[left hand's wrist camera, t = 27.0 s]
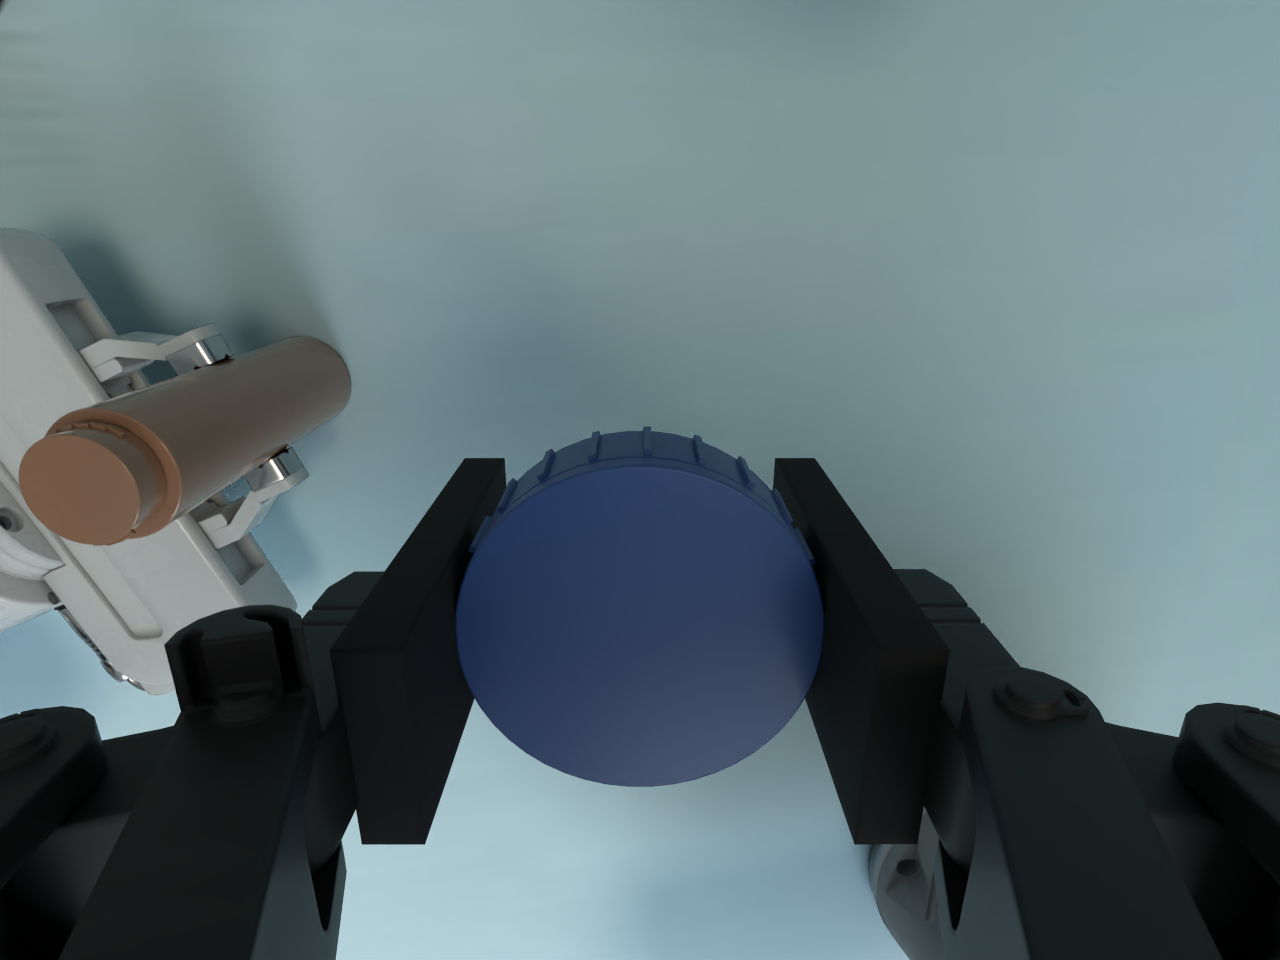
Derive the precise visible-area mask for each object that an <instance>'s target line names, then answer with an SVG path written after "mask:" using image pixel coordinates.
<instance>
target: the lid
mask: <svg viewBox="0 0 1280 960" xmlns="http://www.w3.org/2000/svg"><path fill="white" fill-rule="evenodd" d="M791 522H793V520H792V518H791V516H790V514H789V512H788V510H787V508H786V506H785V504H784V501H783V499H782V497H781V495H780V493H779V492H778V491H777V489H776V488H775V489H773V490H772V491H771V490H770V489H769V488H768V486H767V485H766V484H765V483H764V482H763V481H762V480H761V479H760V478H759V477H758V476H757V475H756V474H755V473H754V472H753V471H751V470H750V469H749V468H748V466H747V463H746V461H745V459H743V458H742V457H741V456H739V457H738V459H735V458H733V457H732V456H730V455H728V454H726V453H724V452H723V451H721V450H719V449H717V448H715V447H713V446H710V445H708V444H705V443H703V442H702V439H701V437H700V436H697V435H694V437H693V439H691V438H687V437H683V436H679V435H676V434H669V433H662V432H654V431H651V427H643V431H626V432H618V433H610V434H604V435H600V432H599V431H597V432H593V433H592V438H588V439H585V440H582V441H579V442H577V443H574V444H572V445H569V446H567V447H564V448H562V449H560V450H559V451H557V452H555V453H554V451H553V449H550V450H549V451H547V452H546V454H545V456H544V459H543V460H542V461H540V462H539V463H538V464H536V465H535V466H534V467H532V468H531V469H530V470H528V471H527V472H526V473H525V474H524V475H523V476H522V477H521V478H520V479H519V480H518V481H516V480H515V479H514V478H512V480H511V481H510V482H509V483H508V485H507V487H506V489H505V491H504V494H503V496H502V498H501V500H500V502H499V504H498V506H497V508H496V510H495V512H494V513H493V515H492V517H489V516H486V517H485V519H484V521H483V523H482V525H481V527H480V529H479V531H478V533H477V535H476V537H475V539H474V541H473V542H472V544H471V546H470V549H469V552H471V553H473V556H472V558H471V560H470V562H469V564H468V566H467V569H466V571H465V574H464V577H463V580H462V582H461V585H460V589H459V594H458V598H457V603H456V610H455V628H456V638H457V648H458V657H459V661H460V665H461V669H462V672H463V674H464V677H465V679H466V681H467V684H468V686H469V689H470V691H471V692H472V694H473V696H474V698H475V699H476V701H477V703H478V704H479V706H480V708H481V709H482V710H483V712H484V713H485V714H486V716H487V717H488V718H489V719H490V721H491V722H492V723H493V724H494V726H495V727H497V728H498V729H499V730H500V731H501V732H502V733H503V734H504V735H505V736H506V737H507V738H508V739H509V740H510V741H511V742H513V743H514V744H515V745H516V746H518V747H519V748H520V749H522V750H523V751H524V752H526V753H527V754H529V755H530V756H532V757H534V758H535V759H537V760H539V761H540V762H542V763H544V764H546V765H548V766H550V767H552V768H555V769H557V770H559V771H561V772H564V773H566V774H569V775H572V776H575V777H579V778H582V779H585V780H589V781H594V782H598V783H603V784H609V785H619V786H628V787H651V786H661V785H670V784H676V783H681V782H686V781H690V780H695V779H698V778H701V777H704V776H707V775H710V774H713V773H716V772H718V771H720V770H723V769H725V768H727V767H729V766H731V765H734V764H736V763H737V762H739V761H741V760H742V759H744V758H746V757H747V756H749V755H751V754H752V753H754V752H755V751H757V750H758V749H759V748H760V747H762V746H763V745H764V744H766V743H767V742H768V741H769V740H771V739H772V738H773V737H774V736H775V735H776V734H777V733H778V732H779V731H780V730H781V729H782V728H783V727H784V726H785V725H786V724H787V723H788V721H789V720H790V719H791V717H792V716H793V715H794V714H795V712H796V711H797V710H798V708H799V707H800V705H801V703H802V702H803V700H804V698H805V697H806V695H807V693H808V691H809V690H810V687H811V685H812V682H813V680H814V678H815V675H816V673H817V670H818V667H819V663H820V658H821V653H822V643H823V633H824V606H823V601H822V596H821V591H820V587H819V584H818V581H817V578H816V576H815V573H814V570H813V568H812V566H813V565H816V562H815V559H814V557H813V555H812V553H811V551H810V549H809V547H808V545H807V543H806V541H805V539H804V537H803V535H802V533H801V531H800V529H799V527H797V528H795V529H794V528H793V526H792V524H791Z"/></svg>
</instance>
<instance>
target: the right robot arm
mask: <svg viewBox="0 0 1280 960" xmlns="http://www.w3.org/2000/svg"><path fill="white" fill-rule="evenodd" d="M232 356H234V353H233V352H232V350H231V348H230V347H229V345H228V343H227V342H226V340H225V338H224V337H223V335H222V334H221V332H220V330H219V329H218V327H217V325H216V324H215V323H213V324H209V325H205V326H201V327H198V328H196V329H193V330H190V331H188V332H185V333H183V334H181V335H179V336H174V335H166V334H157V333H149V332H141V331H135V332H131V333H127V334H122V335H117V333H116V332H115V330H114V329H113V327H112V326H111V324H110V323H109V321H108V320H107V319H106V317H105V316H104V314H103V313H102V311H101V310H100V308H99V307H98V305H97V304H96V302H95V301H94V299H93V298H92V296H91V295H90V293H89V292H88V290H87V289H86V287H85V286H84V284H83V283H82V281H81V280H80V278H79V277H78V275H77V274H76V272H75V271H74V269H73V268H72V266H71V265H70V263H69V262H68V260H67V259H66V257H65V256H64V254H63V253H62V251H61V250H60V248H59V247H58V246H57V244H56V243H55V242H54V241H53V240H52V239H50V238H48V237H46V236H43V235H40V234H37V233H33V232H29V231H25V230H20V229H14V228H0V633H1V632H3V631H5V630H7V629H10V628H12V627H14V626H17V625H19V624H21V623H23V622H26V621H28V620H30V619H32V618H35V617H37V616H39V615H41V614H44V613H46V612H48V611H50V610H52V609H55V610H57V609H58V611H59V613H61V615H62V616H63V618H64V619H65V620H66V621H67V623H68V624H69V625H70V626H71V628H72V629H73V630H74V631H75V633H76V634H77V635H78V636H79V637H80V638H81V639H82V640H84V642H85V643H86V644H89V645H88V646H89V647H90V648H91V649H92V650H93V651H94V652H95V653H96V655H97V656H98V657H99V658H100V660H101V664H102V666H103V668H104V669H105V670H106V671H107V673H108V674H109V675H110V676H112V677H113V678H114V679H115V680H117V681H118V682H123V681H125V680H127V681H128V682H129V683H130V684H131V685H133V686H135V687H136V688H138V689H140V690H143V691H146V692H147V693H148V694H150V695H162V694H166V693H168V692H171V691H173V690H175V686H174V682H173V678H172V674H171V670H170V666H169V662H168V659H167V655H166V651H165V647H164V644H165V643H166V642H167V641H168V640H169V639H170V638H171V637H172V636H173V635H174V634H175V633H176V632H177V631H179V630H181V629H182V628H184V627H186V626H187V625H189V624H191V623H193V622H194V621H196V620H198V619H201V618H203V617H206V616H209V615H212V614H214V613H217V612H220V611H223V610H228V609H233V608H238V607H243V606H248V605H277V606H282V607H287V608H291V609H292V610H293V611H296V609H297V603H296V600H295V598H294V597H293V595H292V594H291V592H290V591H289V589H288V588H287V586H286V585H285V583H284V582H283V580H282V579H281V577H280V576H279V574H278V573H277V571H276V570H275V568H274V567H273V565H272V564H271V563H270V561H269V560H268V558H267V557H266V555H265V554H264V552H263V551H262V549H261V548H260V546H259V545H258V543H257V542H256V540H255V539H254V537H253V536H252V534H251V533H250V531H251V530H252V529H253V528H254V527H256V526H257V525H258V524H259V523H261V522H262V521H263V520H264V518H265V516H266V515H267V513H268V511H269V510H270V508H271V506H272V504H273V503H274V501H275V499H276V498H277V496H278V494H280V493H282V492H284V491H286V490H289V489H290V488H292V487H294V486H296V485H297V484H299V483H300V482H302V481H303V480H304V479H306V478H307V477H308V476H309V473H308V472H307V470H306V468H305V467H304V465H303V464H302V462H301V460H300V459H299V457H298V456H297V454H296V453H295V451H294V449H293V448H292V447H289V448H287V449H285V450H283V451H282V452H280V453H279V454H277V455H276V456H274V457H273V458H271V459H270V460H268V461H267V462H265V463H264V464H262V465H261V466H259V467H257V468H256V469H254V470H253V471H251V472H250V473H248V474H247V475H245V476H244V477H245V479H246V480H247V482H248V484H249V485H250V487H251V490H250V492H249V494H248V495H247V497H244V496H243V497H241V498H239V499H237V500H234V501H232V502H229V500H228V499H227V497H226V496H225V494H224V493H223V491H220V492H219V493H217V494H216V495H214V496H213V497H211V498H210V499H208V500H207V501H205V502H204V503H202V504H200V505H199V506H197V507H196V508H194V509H193V510H191V511H190V512H188V513H187V514H185V515H184V516H182V517H180V518H179V519H177V520H176V521H174V522H173V523H171V524H170V525H168V526H167V527H165V528H164V529H162V530H160V531H158V532H157V533H155V534H152V535H150V536H147V537H142V538H135V539H126V540H124V541H123V542H119V543H116V544H113V545H110V546H108V545H100V546H93V545H88V544H81V543H77V542H73V541H70V540H68V539H65V538H63V537H61V536H59V535H57V534H56V533H54V532H52V531H51V530H49V529H48V528H47V527H46V526H44V525H43V524H42V523H41V522H40V521H39V520H38V519H37V518H36V517H35V516H34V515H33V513H32V512H31V510H30V509H29V508H28V506H27V504H26V502H25V501H24V498H23V496H22V493H21V490H20V486H19V467H20V463H21V460H22V458H23V456H24V454H25V453H26V451H27V450H28V449H29V448H30V447H31V446H32V445H33V444H34V443H35V442H37V441H39V440H40V439H42V438H44V436H45V435H46V433H47V431H48V430H49V428H50V427H51V426H52V425H53V423H55V422H56V421H57V420H58V419H59V418H61V417H62V416H64V415H65V414H67V413H70V412H72V411H75V410H78V409H80V408H83V407H86V406H89V405H92V404H95V403H98V402H101V401H104V400H107V399H110V398H113V397H116V396H119V395H122V394H125V393H128V392H131V391H133V390H136V389H139V388H142V387H145V386H148V385H151V384H150V383H149V381H148V380H147V378H146V377H145V375H144V374H143V372H142V371H141V368H143V367H145V366H147V365H149V364H151V363H153V362H154V360H161V361H168V362H169V364H170V365H171V367H172V368H173V369H174V371H175V372H176V374H177V375H181V374H184V373H186V372H189V371H192V370H195V369H198V368H201V367H205V366H208V365H211V364H214V363H216V362H219V361H223V360H225V359H228V358H230V357H232Z"/></svg>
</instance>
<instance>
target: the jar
mask: <svg viewBox="0 0 1280 960" xmlns="http://www.w3.org/2000/svg"><path fill="white" fill-rule="evenodd" d="M350 392H351V380H350V375H349V372H348V369H347V367H346V365H345V363H344V362H343V360H342V359H341V357H340V356H339V355H338V354H337V353H336V352H335V351H334V350H333V349H332V348H331V347H329V346H328V345H327V344H325V343H323V342H321V341H319V340H316V339H313V338H310V337H301V336H297V337H290V338H287V339H284V340H281V341H278V342H275V343H272V344H269V345H266V346H263V347H260V348H257V349H254V350H251V351H248V352H245V353H242V354H239V355H237V356H234V357H231V358H228V359H225V360H223V361H219V362H216V363H214V364H211V365H208V366H205V367H201V368H198V369H195V370H192V371H189V372H186V373H184V374H181V375H178V376H175V377H172V378H169V379H166V380H163V381H160V382H157V383H154V384H151V385H148V386H145V387H142V388H139V389H136V390H133V391H131V392H128V393H125V394H122V395H119V396H116V397H113V398H110V399H107V400H104V401H101V402H98V403H95V404H92V405H89V406H86V407H83V408H80V409H78V410H75V411H72V412H70V413H67V414H65V415H64V416H62V417H61V418H59V419H58V420H57V421H56V422H55V423H53V425H52V426H51V427H50V428H49V430H48V431H47V433H46V435H45V436H44V438H42V439H40V440H39V441H37V442H35V443H34V444H33V445H32V446H31V447H30V448H29V449H28V450H27V451H26V453H25V454H24V456H23V458H22V460H21V463H20V467H19V486H20V490H21V493H22V496H23V498H24V501H25V502H26V504H27V506H28V508H29V509H30V510H31V512H32V513H33V515H34V516H35V517H36V518H37V519H38V520H39V521H40V522H41V523H42V524H43V525H44V526H46V527H47V528H48V529H49V530H51V531H52V532H54V533H56V534H57V535H59V536H61V537H63V538H65V539H68V540H70V541H73V542H77V543H81V544H88V545H93V546H100V545H108V546H110V545H113V544H116V543H119V542H123V541H124V540H126V539H135V538H142V537H147V536H150V535H152V534H155V533H157V532H158V531H160V530H162V529H164V528H165V527H167V526H168V525H170V524H171V523H173V522H174V521H176V520H177V519H179V518H180V517H182V516H184V515H185V514H187V513H188V512H190V511H191V510H193V509H194V508H196V507H197V506H199V505H200V504H202V503H204V502H205V501H207V500H208V499H210V498H211V497H213V496H214V495H216V494H217V493H219V492H220V491H222V490H224V489H225V488H227V487H228V486H230V485H231V484H233V483H234V482H236V481H237V480H239V479H240V478H242V477H244V476H245V475H247V474H248V473H250V472H251V471H253V470H254V469H256V468H257V467H259V466H261V465H262V464H264V463H265V462H267V461H268V460H270V459H271V458H273V457H274V456H276V455H277V454H279V453H280V452H282V451H283V450H285V449H287V448H288V447H290V446H291V445H293V444H294V443H296V442H297V441H299V440H301V439H302V438H304V437H305V436H307V435H308V434H310V433H311V432H313V431H314V430H316V429H317V428H319V427H321V426H322V425H324V424H325V423H327V422H328V421H330V420H331V419H333V418H334V417H336V416H337V415H338V414H340V412H341V411H342V410H343V409H344V408H345V406H346V404H347V402H348V400H349V397H350Z"/></svg>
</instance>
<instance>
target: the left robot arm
mask: <svg viewBox="0 0 1280 960" xmlns="http://www.w3.org/2000/svg"><path fill="white" fill-rule="evenodd" d="M775 488H776V489H777V491H778V492H779V493H780V495H781V497H782V499H783V501H784V504H785V506H786V508H787V510H788V512H789V514H790V516H791V518H792V520H793V522H791V524H792V526H793V528H794V529H795V528H797V527H799V529H800V531H801V533H802V535H803V537H804V539H805V541H806V543H807V545H808V547H809V549H810V551H811V553H812V555H813V557H814V559H815V562H816V565H813V566H812V568H813V570H814V573H815V576H816V578H817V581H818V584H819V587H820V591H821V596H822V601H823V606H824V633H823V643H822V653H821V658H820V663H819V667H818V670H817V673H816V675H815V678H814V680H813V682H812V685H811V687H810V690H809V691H808V693H807V695H806V697H805V699H806V702H807V705H808V708H809V711H810V714H811V717H812V720H813V723H814V726H815V729H816V732H817V735H818V738H819V741H820V744H821V747H822V749H823V752H824V755H825V758H826V761H827V764H828V767H829V770H830V773H831V776H832V779H833V782H834V785H835V788H836V791H837V794H838V797H839V800H840V803H841V806H842V808H843V811H844V814H845V817H846V820H847V823H848V826H849V829H850V832H851V835H852V838H853V841H854V844H874V846H873V848H872V852H871V856H870V862H869V879H870V885H871V889H872V892H873V895H874V898H875V901H876V904H877V907H878V910H879V913H880V915H881V917H882V920H883V922H884V924H885V925H886V927H887V929H888V930H889V931H890V933H891V935H892V936H893V938H894V939H895V941H896V942H897V943H898V944H899V946H900V947H901V948H902V950H903V951H904V952H905V954H906V955H907V956H908V958H909V959H910V960H1280V715H1278V714H1275V713H1272V712H1269V711H1266V710H1263V711H1261V710H1259V708H1255V707H1250V706H1245V705H1233V704H1225V703H1211V704H1204V705H1197V706H1196V707H1194V708H1193V709H1192V710H1190V711H1189V712H1187V713H1186V715H1185V719H1184V722H1183V725H1182V728H1181V732H1180V735H1179V737H1174V736H1169V735H1164V734H1159V733H1154V732H1148V731H1143V730H1138V729H1133V728H1128V727H1123V726H1118V725H1114V724H1110V723H1107V722H1104V720H1103V718H1102V716H1101V714H1100V712H1099V710H1098V709H1097V708H1096V706H1095V705H1094V704H1093V703H1092V701H1091V700H1090V699H1089V698H1088V697H1087V696H1086V695H1085V694H1084V693H1082V692H1081V691H1079V690H1078V689H1076V688H1075V687H1073V686H1072V685H1070V684H1069V683H1067V682H1065V681H1063V680H1060V679H1058V678H1056V677H1053V676H1051V675H1048V674H1046V673H1044V672H1040V671H1035V670H1031V669H1027V668H1022V667H1020V666H1019V665H1018V664H1017V662H1016V661H1015V660H1014V659H1013V658H1012V656H1011V655H1010V654H1009V653H1008V652H1007V651H1006V649H1005V648H1004V647H1003V646H1002V645H1001V643H1000V642H999V641H998V640H997V639H996V637H995V636H994V635H993V634H992V633H991V631H990V630H989V629H988V628H987V627H986V625H985V624H984V623H981V622H980V618H979V617H978V616H977V615H976V613H975V612H974V611H973V610H972V609H971V607H968V606H967V603H966V601H965V600H964V599H963V598H962V597H961V595H960V594H959V593H958V592H957V591H956V589H955V588H954V587H953V586H952V585H951V584H949V583H947V582H946V581H944V580H942V579H941V578H939V577H937V576H936V575H934V574H932V573H931V572H929V571H927V570H926V569H893V568H892V567H891V566H890V564H889V563H888V561H887V560H886V559H885V557H884V556H883V554H882V553H881V551H880V550H879V549H878V547H877V546H876V544H875V543H874V542H873V540H872V539H871V537H870V536H869V534H868V533H867V532H866V530H865V529H864V527H863V526H862V525H861V523H860V522H859V520H858V519H857V518H856V516H855V515H854V513H853V512H852V510H851V509H850V508H849V506H848V505H847V503H846V502H845V501H844V499H843V498H842V496H841V495H840V493H839V492H838V491H837V489H836V488H835V486H834V485H833V484H832V482H831V481H830V479H829V478H828V477H827V475H826V474H825V472H824V471H823V469H822V468H821V467H820V465H819V464H818V462H817V461H816V460H815V458H775V468H774V483H773V489H775ZM505 489H506V475H505V460H504V458H465V459H464V460H463V462H462V463H461V465H460V466H459V467H458V469H457V470H456V472H455V473H454V474H453V476H452V477H451V479H450V480H449V481H448V483H447V484H446V486H445V487H444V489H443V490H442V491H441V493H440V494H439V496H438V497H437V498H436V500H435V501H434V503H433V504H432V506H431V507H430V508H429V510H428V511H427V513H426V514H425V515H424V517H423V518H422V520H421V521H420V522H419V524H418V525H417V527H416V528H415V530H414V531H413V532H412V534H411V535H410V537H409V538H408V539H407V541H406V542H405V544H404V545H403V547H402V548H401V549H400V551H399V552H398V554H397V555H396V556H395V558H394V559H393V561H392V562H391V563H390V565H389V566H388V568H387V569H386V571H385V572H353V573H351V574H350V575H348V576H347V577H345V578H343V579H342V580H340V581H338V582H337V583H335V584H333V585H332V586H330V587H328V588H327V589H326V591H325V592H324V593H323V594H322V595H321V597H320V598H319V599H318V600H317V601H316V603H315V604H314V605H313V606H312V610H309V611H308V612H307V614H306V615H305V616H304V617H303V618H302V619H301V616H300V615H299V614H297V613H296V612H295V611H293V610H292V609H291V608H287V607H282V606H277V605H248V606H243V607H238V608H233V609H228V610H223V611H220V612H217V613H214V614H212V615H209V616H206V617H203V618H201V619H198V620H196V621H194V622H193V623H191V624H189V625H187V626H186V627H184V628H182V629H181V630H179V631H177V632H176V633H175V634H174V635H173V636H172V637H171V638H170V639H169V640H168V641H167V642H166V643H165V644H164V647H165V651H166V655H167V659H168V662H169V666H170V670H171V674H172V678H173V682H174V686H175V690H176V694H177V697H178V701H179V705H180V709H181V713H180V715H179V717H178V719H177V721H176V723H175V725H174V726H171V727H167V728H163V729H159V730H153V731H148V732H143V733H138V734H133V735H128V736H123V737H118V738H113V739H108V740H103V741H102V740H101V737H100V734H99V731H98V727H97V724H96V721H95V717H94V716H92V715H91V714H90V713H88V712H87V711H85V710H84V709H81V708H73V707H65V706H60V707H52V708H43V709H33V710H28V711H24V712H21V714H17V713H16V714H13V715H10V716H7V717H4V718H2V719H0V960H336V952H337V944H338V936H339V928H340V920H341V912H342V904H343V896H344V888H345V880H346V865H345V858H344V852H343V846H342V841H341V839H342V837H343V835H344V833H345V831H346V829H347V826H348V824H349V822H350V820H351V818H352V816H353V814H354V812H355V810H356V811H357V817H358V823H359V829H360V835H361V841H362V844H425V842H426V840H427V837H428V834H429V831H430V828H431V825H432V822H433V819H434V816H435V813H436V810H437V807H438V804H439V801H440V798H441V795H442V792H443V789H444V786H445V783H446V781H447V778H448V775H449V772H450V769H451V766H452V763H453V760H454V757H455V754H456V751H457V748H458V745H459V742H460V739H461V736H462V733H463V730H464V727H465V725H466V722H467V719H468V716H469V713H470V710H471V707H472V704H473V701H474V696H473V694H472V692H471V691H470V689H469V686H468V684H467V681H466V679H465V677H464V674H463V672H462V669H461V665H460V661H459V657H458V648H457V638H456V628H455V610H456V603H457V598H458V594H459V589H460V585H461V582H462V580H463V577H464V574H465V571H466V569H467V566H468V564H469V562H470V560H471V558H472V556H473V553H471V552H469V549H470V546H471V544H472V542H473V541H474V539H475V537H476V535H477V533H478V531H479V529H480V527H481V525H482V523H483V521H484V519H485V517H486V516H489V517H492V515H493V513H494V512H495V510H496V508H497V506H498V504H499V502H500V500H501V498H502V496H503V494H504V491H505Z"/></svg>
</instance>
